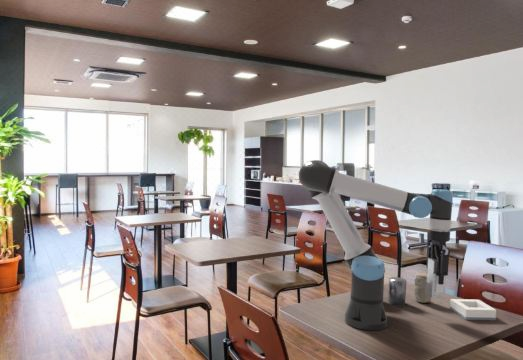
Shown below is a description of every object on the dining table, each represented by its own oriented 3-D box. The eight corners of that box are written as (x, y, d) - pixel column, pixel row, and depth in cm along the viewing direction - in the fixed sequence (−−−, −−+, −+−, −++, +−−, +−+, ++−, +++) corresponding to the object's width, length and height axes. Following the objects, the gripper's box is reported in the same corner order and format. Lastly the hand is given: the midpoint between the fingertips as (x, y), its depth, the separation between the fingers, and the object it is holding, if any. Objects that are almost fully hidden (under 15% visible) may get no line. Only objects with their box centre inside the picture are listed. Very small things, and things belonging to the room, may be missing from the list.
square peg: (431, 297, 158) (434, 261, 157) (425, 293, 163) (428, 257, 162) (444, 297, 158) (447, 261, 157) (438, 293, 163) (440, 258, 162)
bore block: (465, 319, 159) (465, 309, 159) (449, 308, 171) (450, 299, 171) (495, 320, 160) (496, 310, 160) (478, 309, 172) (478, 299, 172)
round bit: (391, 305, 173) (392, 281, 172) (385, 299, 180) (386, 277, 179) (407, 305, 173) (409, 282, 173) (401, 300, 180) (402, 277, 180)
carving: (418, 298, 184) (420, 271, 183) (434, 303, 178) (436, 275, 177) (410, 300, 180) (411, 273, 180) (425, 305, 174) (427, 277, 174)
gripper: (461, 234, 150) (457, 298, 152) (438, 226, 168) (434, 283, 170) (441, 233, 150) (436, 297, 151) (419, 225, 168) (416, 282, 169)
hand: (435, 289), depth 160 cm, fingers closed on square peg, 5 cm apart
